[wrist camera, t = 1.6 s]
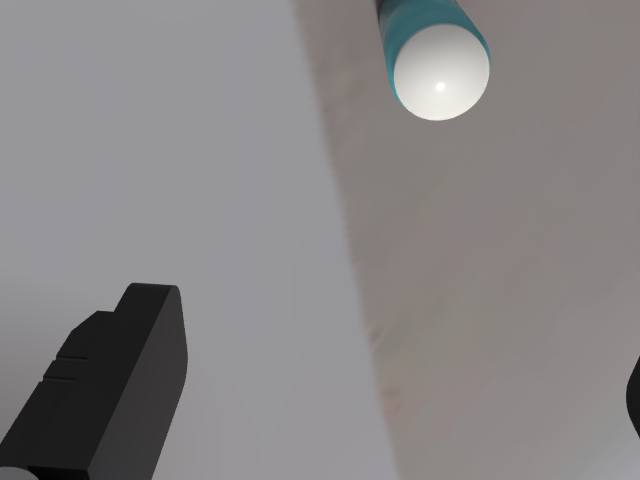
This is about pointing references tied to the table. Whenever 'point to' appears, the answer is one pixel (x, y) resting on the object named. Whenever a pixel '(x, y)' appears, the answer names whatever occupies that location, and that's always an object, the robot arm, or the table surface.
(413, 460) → the table surface
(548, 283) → the table surface
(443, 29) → the jar
